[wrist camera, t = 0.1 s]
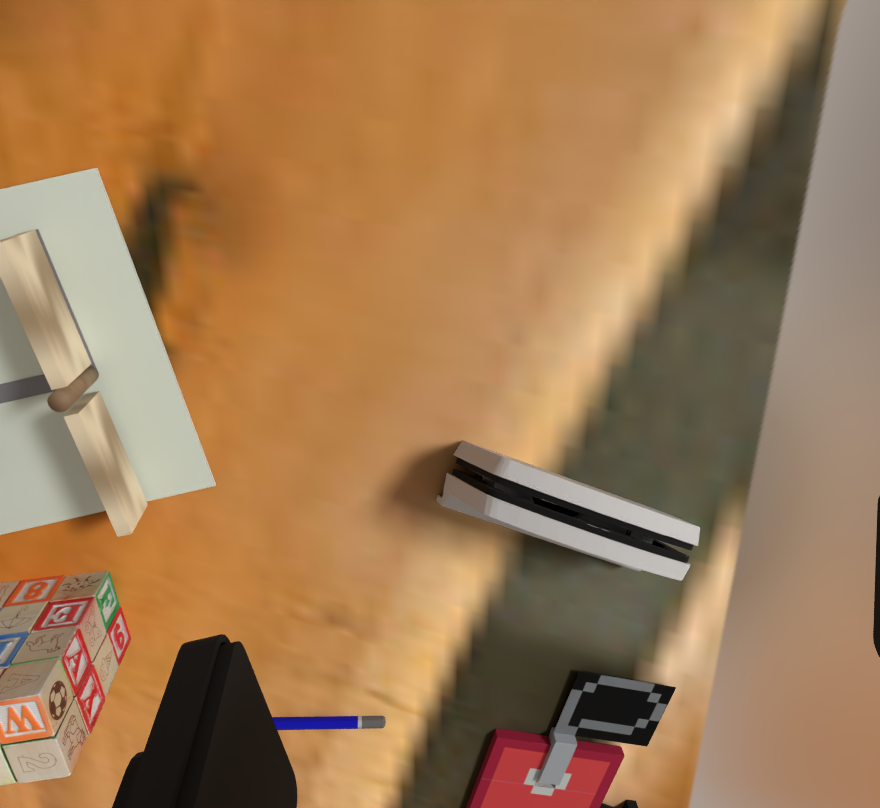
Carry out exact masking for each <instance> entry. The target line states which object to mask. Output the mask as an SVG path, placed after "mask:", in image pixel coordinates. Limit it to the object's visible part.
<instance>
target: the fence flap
mask: <svg viewBox="0 0 880 808" xmlns="http://www.w3.org/2000/svg"><path fill="white" fill-rule="evenodd" d="M64 419H65V421H66V423H67V426H68V428H69V430H70V432H71V434H72V437H73V439H74V441H75V443H76V446H77V448H78V450H79V452H80V454H81V457H82V459H83V461H84V463H85V466H86V468H87V470H88V472H89V474H90V477H91V479H92V481H93V483H94V486H95V488H96V490H97V492H98V494H99V497H100V499H101V501H102V503H103V505H104V508H105V510H106V512H107V514H108V517H109V519H110V521H111V523H112V525H113V528H114V530H115V532H116V534H117V537H119V536H123V535H128V534H132V532H133V530H134V529H135V527H136V525H137V523H138V521H139V519H140V518H141V516H142V514H143V512H144V510H145V509H146V507H147V505H148V504H147V502H146V499H145V497H144V494H143V492H142V490H141V487H140V485H139V483H138V480H137V478H136V476H135V473H134V471H133V468H132V466H131V464H130V461H129V459H128V457H127V454H126V452H125V450H124V447H123V445H122V442H121V440H120V438H119V435H118V433H117V431H116V428H115V426H114V424H113V421H112V419H111V416H110V414H109V412H108V409H107V407H106V405H105V402H104V400H103V397H102V395H101V393H100V391H97V392H93V393H89V394H85V395H84V396H83V397H82V398H81V399H80V400H79V401H78V402H77V403H76V405H75V406H74V407H73V408H72V409H71V410H70V411H69V412H68V413H67V414H66V415H65V416H64Z"/></svg>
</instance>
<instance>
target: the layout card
mask: <svg viewBox="0 0 880 808" xmlns="http://www.w3.org/2000/svg"><path fill="white" fill-rule="evenodd" d="M32 230H35V231H36V233H37V235H38V238H39V240H40V242H41V245H42V247H43V250H44V252H45V254H46V257H47V259H48V261H49V264H50V266H51V269H52V271H53V273H54V276H55V278H56V280H57V283H58V285H59V288H60V290H61V292H62V295H63V297H64V299H65V302H66V304H67V307H68V309H69V311H70V314H71V316H72V318H73V321H74V323H75V326H76V328H77V330H78V333H79V335H80V337H81V340H82V342H83V345H84V347H85V349H86V352H87V354H88V356H89V359H90V361H91V365H90V366H92V367H94V368H95V369H96V370H97V372H98V373H99V377H98V379H97V380H96V381H95V382H94V383H93V384H92V385H91V386H90V387H89V388H88V389H87V390H86V391H85V392H84V393H83V394H82V395H81V396H80V397H79V398H78V399H77V401H76V402H75V403H74V404H73V405H72V406H71V407H70V408H69V409H68V410H66V411H64V412H56V411H54V410H52V409H51V408H50V407H49V405H48V402H47V400H48V397H49V396H50V395H51V394H52V393H53V392H54V391H55V390H56V389H54V390H51V388H50V386H49V383H48V381H47V379H46V377H45V375H44V372H43V370H42V368H41V366H40V364H39V361H38V359H37V357H36V355H35V352H34V350H33V348H32V346H31V344H30V341H29V339H28V337H27V335H26V332H25V330H24V328H23V326H22V324H21V321H20V319H19V317H18V315H17V313H16V310H15V308H14V306H13V304H12V301H11V299H10V297H9V295H8V293H7V290H6V288H5V286H4V284H3V281H2V279H1V277H0V535H2V534H6V533H11V532H15V531H20V530H24V529H28V528H33V527H37V526H41V525H46V524H50V523H55V522H59V521H63V520H68V519H72V518H77V517H81V516H85V515H90V514H94V513H99V512H103V511H106V510H105V508H104V505H103V503H102V501H101V499H100V497H99V494H98V492H97V490H96V488H95V486H94V483H93V481H92V479H91V477H90V474H89V472H88V470H87V468H86V466H85V463H84V461H83V459H82V457H81V454H80V452H79V450H78V448H77V446H76V443H75V441H74V439H73V437H72V434H71V432H70V430H69V428H68V426H67V423H66V421H65V419H64V416H65V415H66V414H67V413H68V412H69V411H70V410H71V409H72V408H73V407H74V406H75V405H76V403H77V402H78V401H79V400H80V399H81V398H82V397H83V396H84V395H85V394H89V393H93V392H97V391H100V393H101V395H102V397H103V400H104V402H105V405H106V407H107V409H108V412H109V414H110V416H111V419H112V421H113V424H114V426H115V428H116V431H117V433H118V435H119V438H120V440H121V442H122V445H123V447H124V450H125V452H126V454H127V457H128V459H129V461H130V464H131V466H132V468H133V471H134V473H135V476H136V478H137V480H138V483H139V485H140V487H141V490H142V492H143V494H144V497H145V499H146V502H147V501H151V500H156V499H160V498H164V497H169V496H173V495H178V494H182V493H186V492H191V491H195V490H200V489H204V488H208V487H213V486H216V483H215V480H214V478H213V475H212V472H211V470H210V467H209V464H208V462H207V459H206V456H205V454H204V451H203V448H202V446H201V443H200V440H199V438H198V435H197V432H196V430H195V427H194V424H193V422H192V419H191V416H190V414H189V411H188V408H187V406H186V403H185V400H184V398H183V395H182V392H181V390H180V387H179V384H178V382H177V379H176V376H175V374H174V371H173V368H172V366H171V363H170V360H169V358H168V355H167V352H166V350H165V347H164V344H163V342H162V339H161V336H160V334H159V331H158V328H157V326H156V323H155V320H154V318H153V315H152V312H151V310H150V307H149V304H148V302H147V299H146V296H145V294H144V291H143V288H142V286H141V283H140V280H139V278H138V275H137V272H136V270H135V267H134V264H133V262H132V259H131V256H130V254H129V251H128V248H127V246H126V243H125V240H124V238H123V235H122V232H121V230H120V227H119V224H118V222H117V219H116V216H115V214H114V211H113V208H112V206H111V203H110V200H109V198H108V195H107V192H106V190H105V187H104V184H103V182H102V179H101V176H100V174H99V171H98V168H93V169H89V170H84V171H80V172H75V173H71V174H67V175H62V176H58V177H53V178H49V179H44V180H40V181H35V182H31V183H27V184H22V185H18V186H13V187H9V188H4V189H0V240H2V239H5V238H8V237H11V236H13V235H16V234H19V233H23V232H27V231H32Z"/></svg>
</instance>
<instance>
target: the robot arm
mask: <svg viewBox="0 0 880 808" xmlns="http://www.w3.org/2000/svg"><path fill="white" fill-rule="evenodd" d="M875 572H876V573H875V601H874V631H873V632H874V633H873V638H874V644H875V648H876V651H877V653H878V655H879V657H880V497H879V499H878V511H877V542H876V571H875ZM296 807H297V785H296V779H295V775H294V772H293V769H292V766H291V764H290V761H289V759H288V756H287V754H286V751H285V749H284V746H283V744H282V741H281V739H280V736H279V734H278V731H277V729H276V726H275V724H274V721H273V719H272V716H271V714H270V711H269V709H268V706H267V704H266V701H265V699H264V696H263V694H262V691H261V689H260V686H259V684H258V681H257V679H256V676H255V674H254V671H253V668H252V666H251V663H250V661H249V658H248V656H247V653H246V651H245V649H244V647H243V645H242V643H241V642H239V641H237V642H233V643H230V641H229V639H228V638H227V637H226V636H225V635H222V634H221V635H217V636H212V637H208V638H204V639H199V640H195V641H191V642H186V643H184V644H183V645H182V646H181V648H180V650H179V652H178V655H177V658H176V661H175V664H174V667H173V669H172V672H171V675H170V678H169V681H168V684H167V687H166V690H165V692H164V695H163V698H162V701H161V704H160V707H159V710H158V712H157V715H156V718H155V721H154V724H153V727H152V730H151V732H150V735H149V738H148V741H147V744H146V747H145V750H144V752H140V753H137V754H136V755H135V756H134V757H133V758H132V759H131V761H130V763H129V765H128V767H127V769H126V771H125V774H124V777H123V779H122V782H121V785H120V787H119V790H118V793H117V796H116V798H115V801H114V804H113V807H112V808H296Z"/></svg>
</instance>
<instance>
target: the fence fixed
mask: <svg viewBox="0 0 880 808" xmlns="http://www.w3.org/2000/svg"><path fill="white" fill-rule="evenodd" d="M0 277H1V279H2V281H3V284H4V286H5V288H6V290H7V293H8V295H9V297H10V299H11V301H12V304H13V306H14V308H15V310H16V313H17V315H18V317H19V319H20V321H21V324H22V326H23V328H24V330H25V332H26V335H27V337H28V339H29V341H30V344H31V346H32V348H33V350H34V352H35V355H36V357H37V359H38V361H39V364H40V366H41V368H42V370H43V372H44V375H45V377H46V379H47V381H48V383H49V386H50V388H51V390H54V389H56V390H55V391H54V392H53V393H52V394H51V395H50V396H49V397H48V400H47V402H48V405H49V407H50V408H51V409H52V410H54V411H56V412H64V411H66V410H68V409H69V408H70V407H71V406H72V405H73V404H74V403H75V402H76V401H77V399H78V398H79V397H80V396H81V395H82V394H83V393H84V392H85V391H86V390H87V389H88V388H89V387H90V386H91V385H92V384H93V383H94V382H95V381H96V380H97V379H98V377H99V373H98V372H97V370H96V369H95V368H94V367H92V366H90V365H91V361H90V359H89V356H88V354H87V352H86V349H85V347H84V345H83V342H82V340H81V337H80V335H79V333H78V330H77V328H76V326H75V323H74V321H73V318H72V316H71V314H70V311H69V309H68V307H67V304H66V302H65V299H64V297H63V295H62V292H61V290H60V288H59V285H58V283H57V280H56V278H55V276H54V273H53V271H52V269H51V266H50V264H49V261H48V259H47V257H46V254H45V252H44V250H43V247H42V245H41V242H40V240H39V238H38V235H37V233H36V231H35V230H32V231H27V232H23V233H19V234H16V235H13V236H11V237H8V238H5V239H2V240H0Z"/></svg>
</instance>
